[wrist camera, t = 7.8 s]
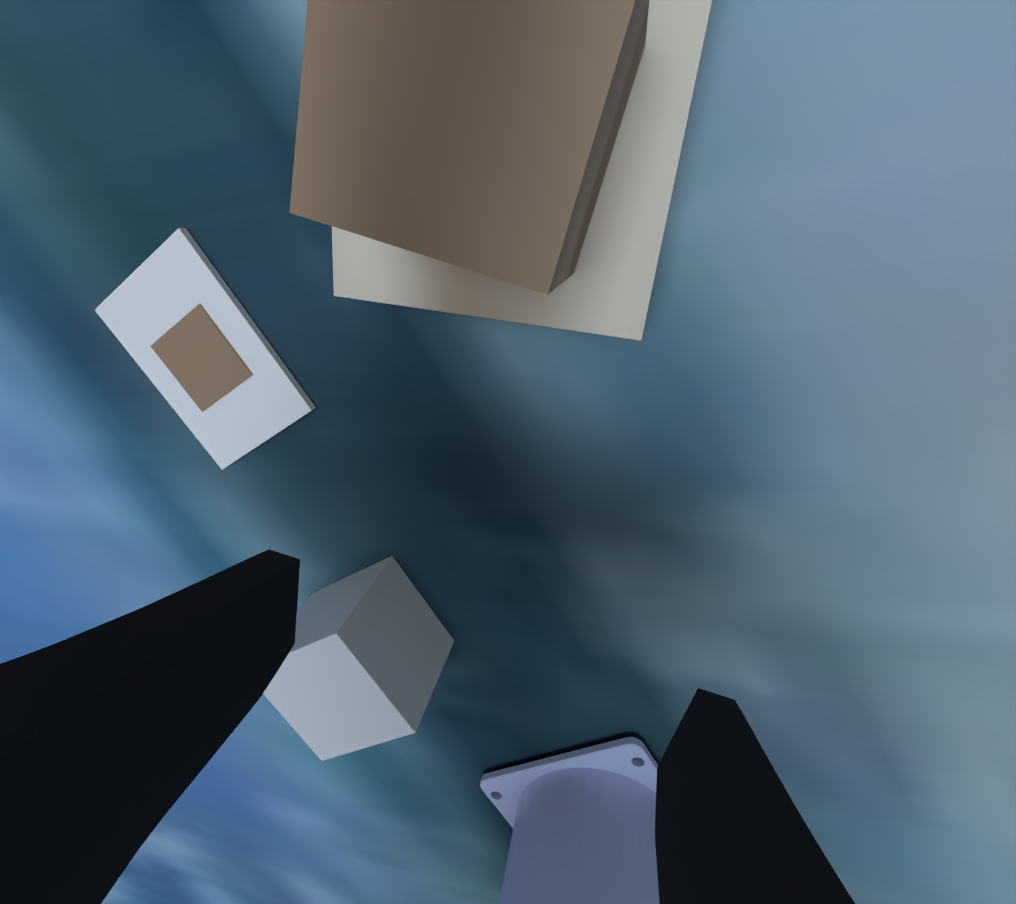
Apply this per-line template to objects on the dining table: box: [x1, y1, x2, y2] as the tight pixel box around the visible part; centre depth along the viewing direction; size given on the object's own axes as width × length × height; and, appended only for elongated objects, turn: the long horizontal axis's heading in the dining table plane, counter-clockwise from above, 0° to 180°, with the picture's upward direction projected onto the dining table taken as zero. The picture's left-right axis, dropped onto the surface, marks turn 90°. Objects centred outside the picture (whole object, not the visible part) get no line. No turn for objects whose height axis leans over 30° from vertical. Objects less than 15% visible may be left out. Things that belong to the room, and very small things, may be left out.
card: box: [95, 228, 316, 469], centre depth 19 cm, size 7×5×1 cm
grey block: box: [263, 556, 454, 761], centre depth 20 cm, size 4×4×4 cm
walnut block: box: [290, 0, 649, 295], centre depth 10 cm, size 4×4×4 cm
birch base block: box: [332, 0, 712, 340], centre depth 13 cm, size 8×8×4 cm
